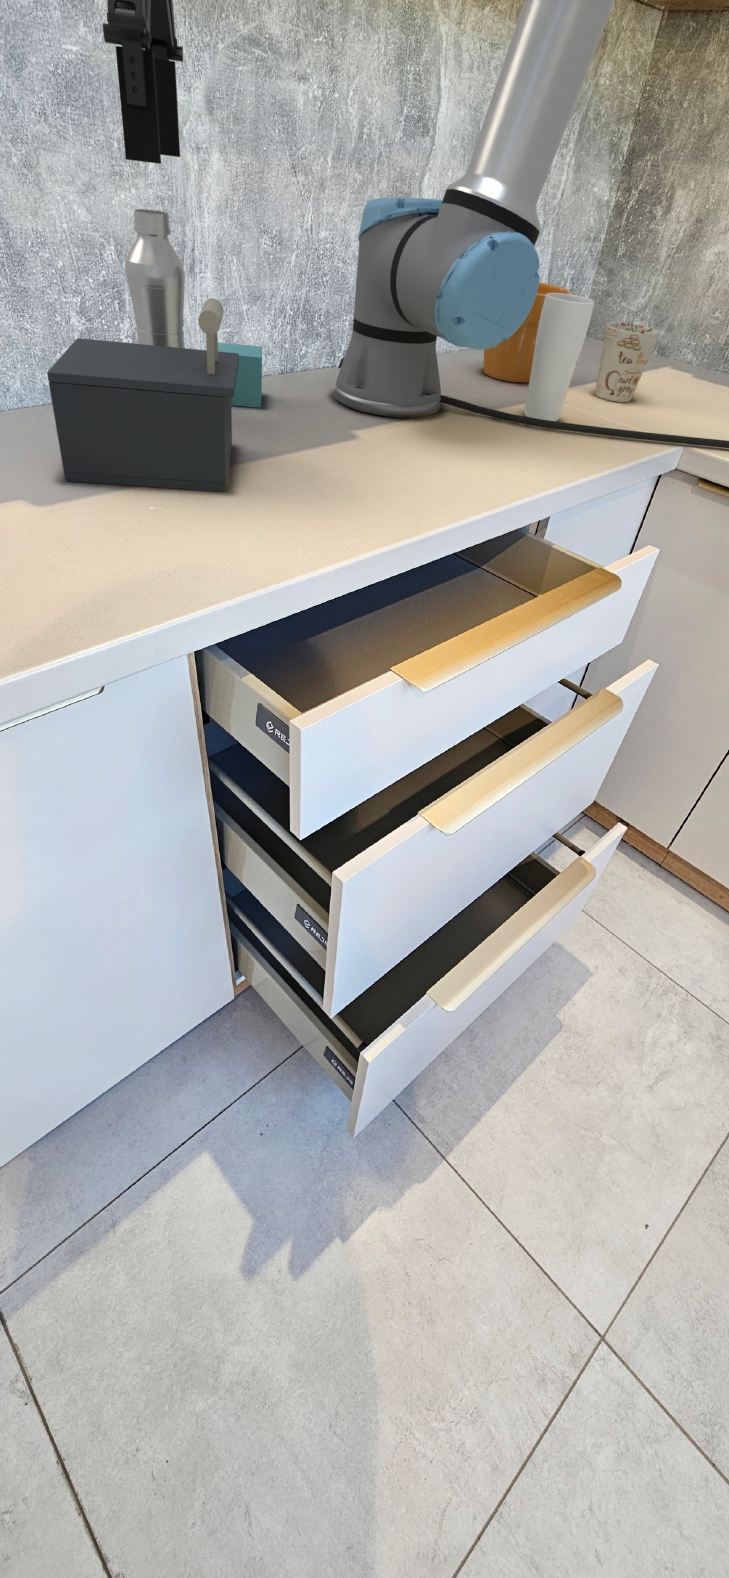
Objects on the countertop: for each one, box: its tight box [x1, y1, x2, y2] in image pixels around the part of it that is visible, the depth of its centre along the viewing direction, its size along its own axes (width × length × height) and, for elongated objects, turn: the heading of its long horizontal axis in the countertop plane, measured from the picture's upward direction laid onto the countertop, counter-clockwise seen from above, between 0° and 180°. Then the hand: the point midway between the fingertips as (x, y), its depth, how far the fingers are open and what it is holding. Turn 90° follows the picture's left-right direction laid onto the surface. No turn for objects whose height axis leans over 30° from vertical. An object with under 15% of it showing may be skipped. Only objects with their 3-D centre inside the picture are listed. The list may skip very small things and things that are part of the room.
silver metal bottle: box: [124, 208, 186, 348], centre depth 85 cm, size 6×7×20 cm
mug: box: [594, 321, 660, 403], centre depth 120 cm, size 8×13×10 cm, turn 158°
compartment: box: [48, 381, 233, 493], centre depth 76 cm, size 16×14×9 cm
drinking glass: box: [523, 293, 595, 422], centre depth 103 cm, size 7×7×15 cm
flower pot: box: [483, 281, 573, 383], centre depth 121 cm, size 14×14×13 cm
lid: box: [46, 297, 239, 397], centre depth 71 cm, size 17×14×6 cm
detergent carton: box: [218, 341, 263, 409], centre depth 97 cm, size 6×6×6 cm
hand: (155, 158), depth 65 cm, fingers open, 13 cm apart
